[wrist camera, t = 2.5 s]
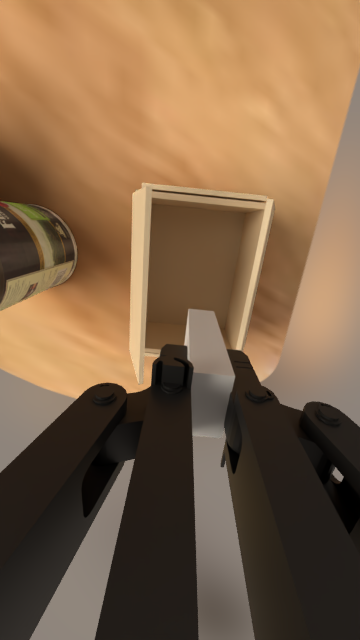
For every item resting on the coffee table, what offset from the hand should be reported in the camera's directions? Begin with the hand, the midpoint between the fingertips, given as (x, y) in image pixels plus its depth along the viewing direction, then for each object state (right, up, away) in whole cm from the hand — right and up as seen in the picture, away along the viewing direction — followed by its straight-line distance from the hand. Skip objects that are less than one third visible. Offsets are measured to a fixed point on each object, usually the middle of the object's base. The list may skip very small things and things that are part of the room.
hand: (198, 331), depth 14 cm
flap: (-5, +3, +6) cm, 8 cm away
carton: (0, +7, +17) cm, 18 cm away
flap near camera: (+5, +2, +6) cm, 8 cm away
